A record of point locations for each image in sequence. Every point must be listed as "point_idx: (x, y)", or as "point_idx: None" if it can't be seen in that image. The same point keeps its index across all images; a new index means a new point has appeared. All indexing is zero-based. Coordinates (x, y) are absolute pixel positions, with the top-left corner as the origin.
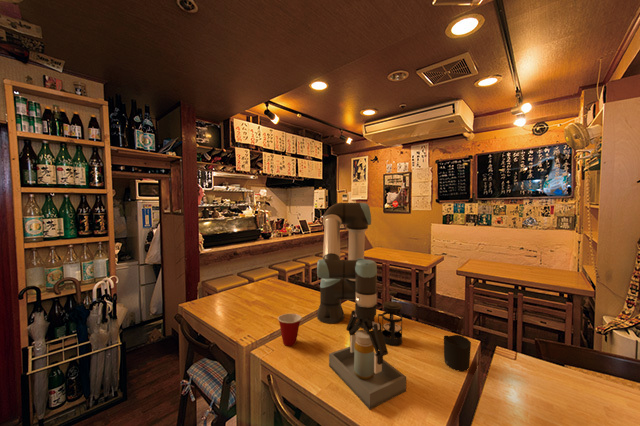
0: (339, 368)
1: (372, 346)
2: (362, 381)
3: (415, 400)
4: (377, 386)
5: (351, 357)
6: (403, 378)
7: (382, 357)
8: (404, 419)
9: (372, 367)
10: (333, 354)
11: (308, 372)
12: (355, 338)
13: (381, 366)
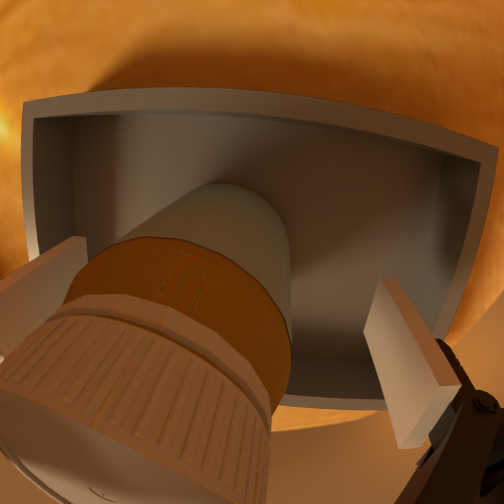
0: None
1: (270, 358)
2: None
3: (499, 167)
4: (353, 259)
5: (74, 193)
6: (493, 176)
7: (467, 385)
8: (498, 291)
9: (287, 254)
10: None
11: None
12: (15, 307)
13: (407, 300)
